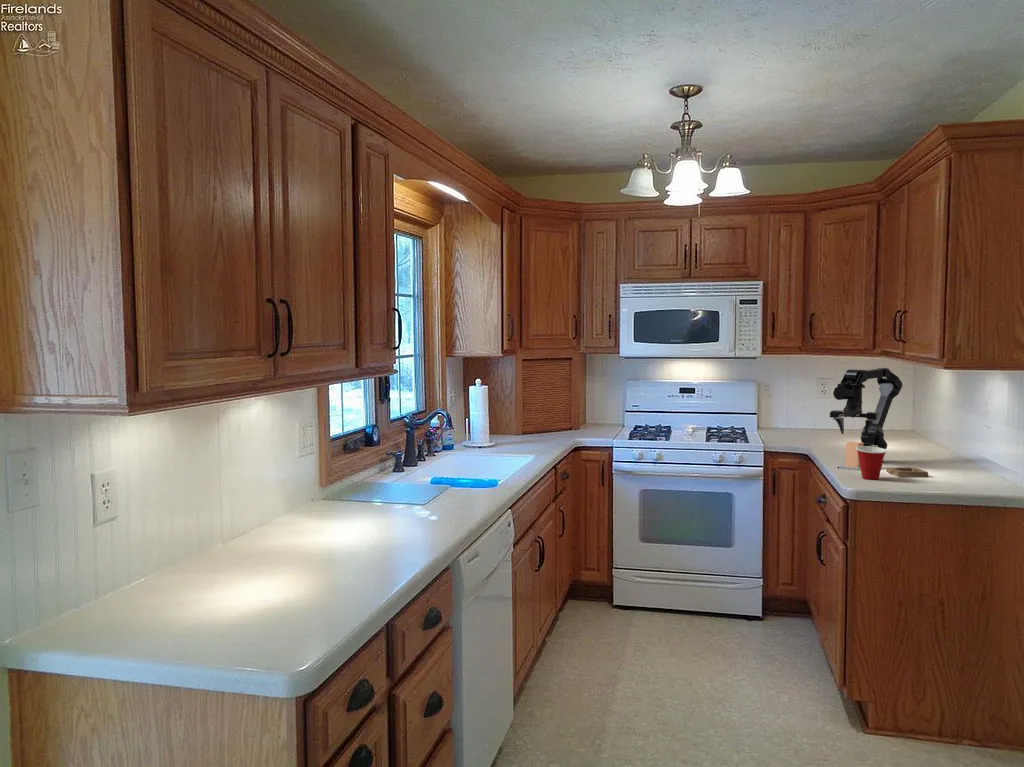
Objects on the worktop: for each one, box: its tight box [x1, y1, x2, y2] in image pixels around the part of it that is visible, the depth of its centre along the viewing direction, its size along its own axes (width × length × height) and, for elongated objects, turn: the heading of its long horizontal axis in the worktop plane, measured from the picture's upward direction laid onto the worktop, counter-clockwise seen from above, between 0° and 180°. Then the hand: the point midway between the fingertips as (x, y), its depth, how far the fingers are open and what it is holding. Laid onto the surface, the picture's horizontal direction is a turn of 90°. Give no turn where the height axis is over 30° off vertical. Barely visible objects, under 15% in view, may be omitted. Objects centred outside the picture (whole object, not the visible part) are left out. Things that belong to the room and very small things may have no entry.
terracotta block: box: [845, 441, 863, 468], centre depth 312 cm, size 5×5×10 cm
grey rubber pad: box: [836, 462, 861, 471], centre depth 312 cm, size 11×11×1 cm
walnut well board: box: [885, 466, 929, 478], centre depth 295 cm, size 11×11×2 cm
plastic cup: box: [856, 446, 888, 481], centre depth 288 cm, size 11×11×12 cm
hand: (854, 435), depth 318 cm, fingers open, 9 cm apart
